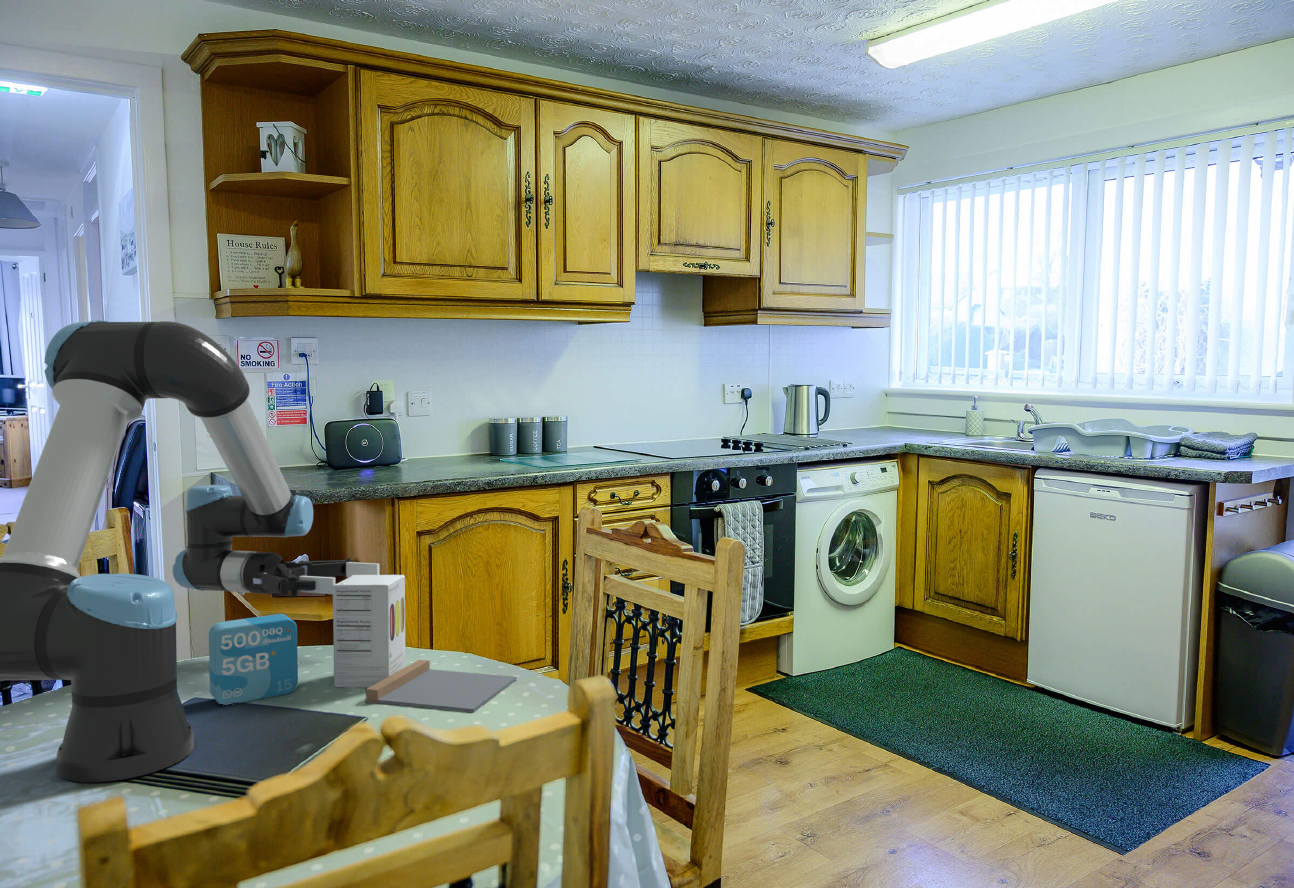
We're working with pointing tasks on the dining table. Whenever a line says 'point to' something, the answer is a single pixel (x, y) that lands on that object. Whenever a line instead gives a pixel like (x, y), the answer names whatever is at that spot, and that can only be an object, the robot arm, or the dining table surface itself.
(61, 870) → the dining table surface
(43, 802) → the dining table surface
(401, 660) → the supplement box
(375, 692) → the topple mat
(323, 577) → the robot arm
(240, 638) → the data package
